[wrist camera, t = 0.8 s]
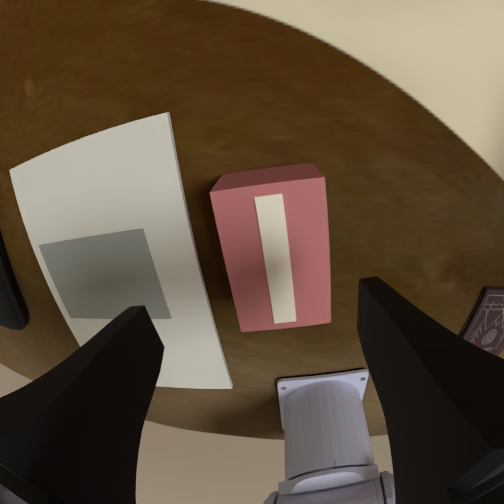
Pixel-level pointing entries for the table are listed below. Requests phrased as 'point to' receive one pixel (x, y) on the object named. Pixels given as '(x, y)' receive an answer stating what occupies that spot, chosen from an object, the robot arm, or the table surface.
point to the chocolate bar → (487, 321)
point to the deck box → (275, 245)
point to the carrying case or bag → (10, 296)
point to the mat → (123, 243)
